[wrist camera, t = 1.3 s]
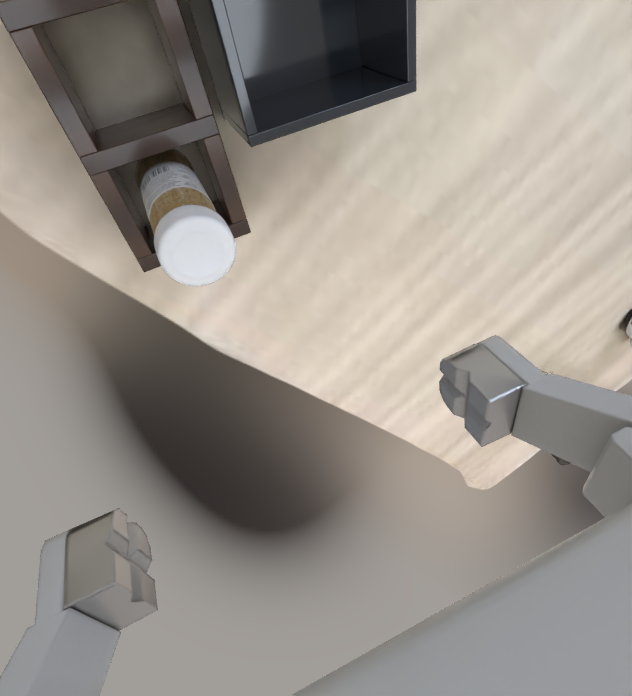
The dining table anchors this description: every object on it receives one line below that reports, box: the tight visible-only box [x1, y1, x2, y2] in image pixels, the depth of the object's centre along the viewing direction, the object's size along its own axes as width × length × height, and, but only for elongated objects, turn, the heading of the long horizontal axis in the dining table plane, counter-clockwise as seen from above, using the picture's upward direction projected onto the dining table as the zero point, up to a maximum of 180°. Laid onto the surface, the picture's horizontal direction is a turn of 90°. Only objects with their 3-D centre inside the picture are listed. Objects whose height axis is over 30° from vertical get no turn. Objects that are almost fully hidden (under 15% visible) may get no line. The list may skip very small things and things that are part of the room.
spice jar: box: [136, 149, 236, 286], centre depth 29 cm, size 5×5×13 cm
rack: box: [0, 0, 251, 272], centre depth 30 cm, size 17×9×5 cm, turn 10°
